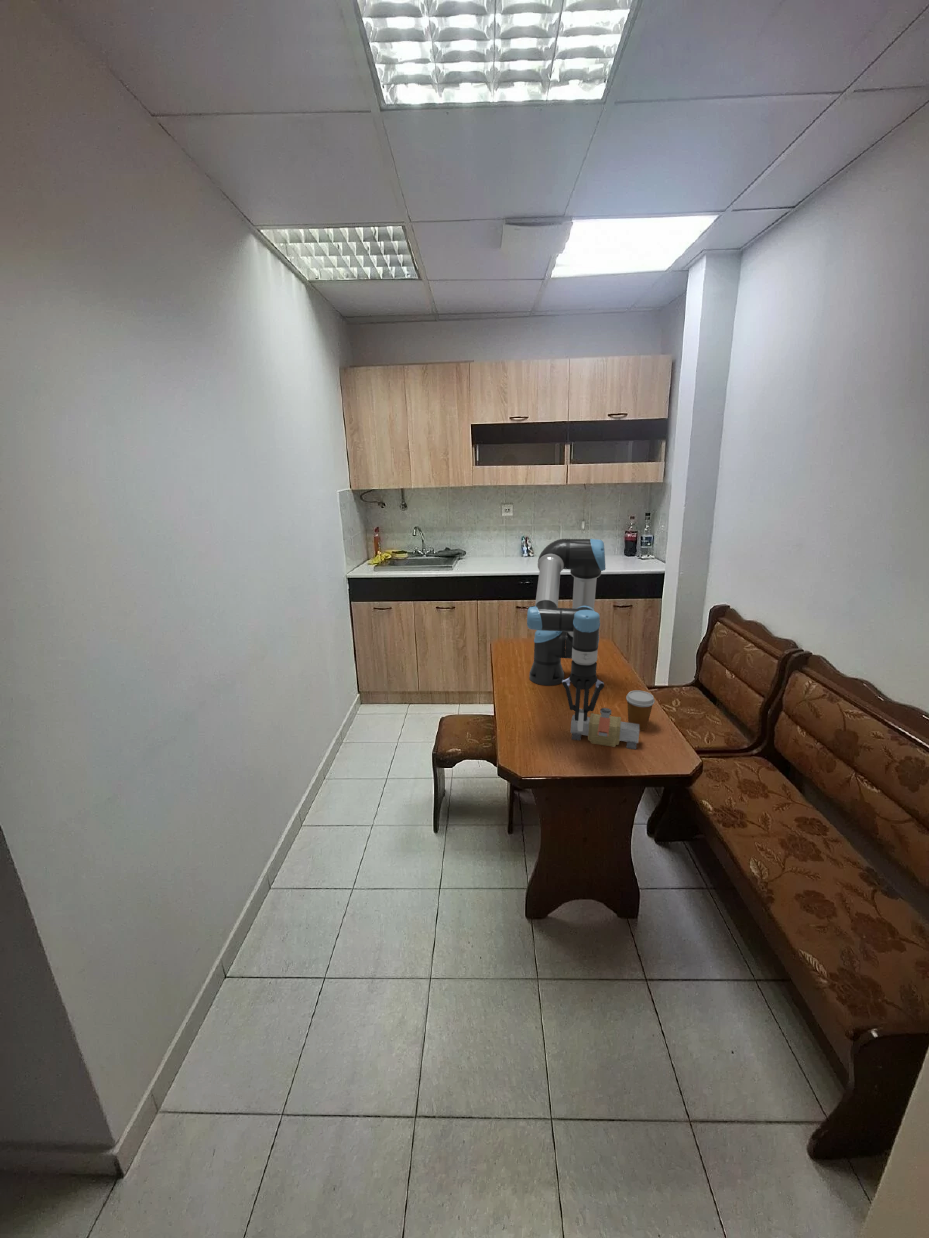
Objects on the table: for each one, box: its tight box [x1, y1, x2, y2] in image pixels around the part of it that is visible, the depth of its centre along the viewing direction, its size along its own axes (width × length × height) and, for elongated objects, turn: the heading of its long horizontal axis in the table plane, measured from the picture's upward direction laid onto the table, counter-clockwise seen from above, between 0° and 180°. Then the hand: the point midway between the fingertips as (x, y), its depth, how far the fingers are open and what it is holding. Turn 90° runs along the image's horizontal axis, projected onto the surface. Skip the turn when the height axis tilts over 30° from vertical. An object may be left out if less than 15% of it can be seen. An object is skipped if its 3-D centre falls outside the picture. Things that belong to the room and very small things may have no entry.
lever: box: [598, 707, 612, 737], centre depth 157 cm, size 17×4×2 cm, turn 161°
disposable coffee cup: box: [625, 689, 656, 731], centre depth 172 cm, size 10×10×12 cm
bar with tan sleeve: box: [570, 712, 640, 750], centre depth 165 cm, size 22×7×10 cm, turn 71°
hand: (580, 729), depth 155 cm, fingers closed
